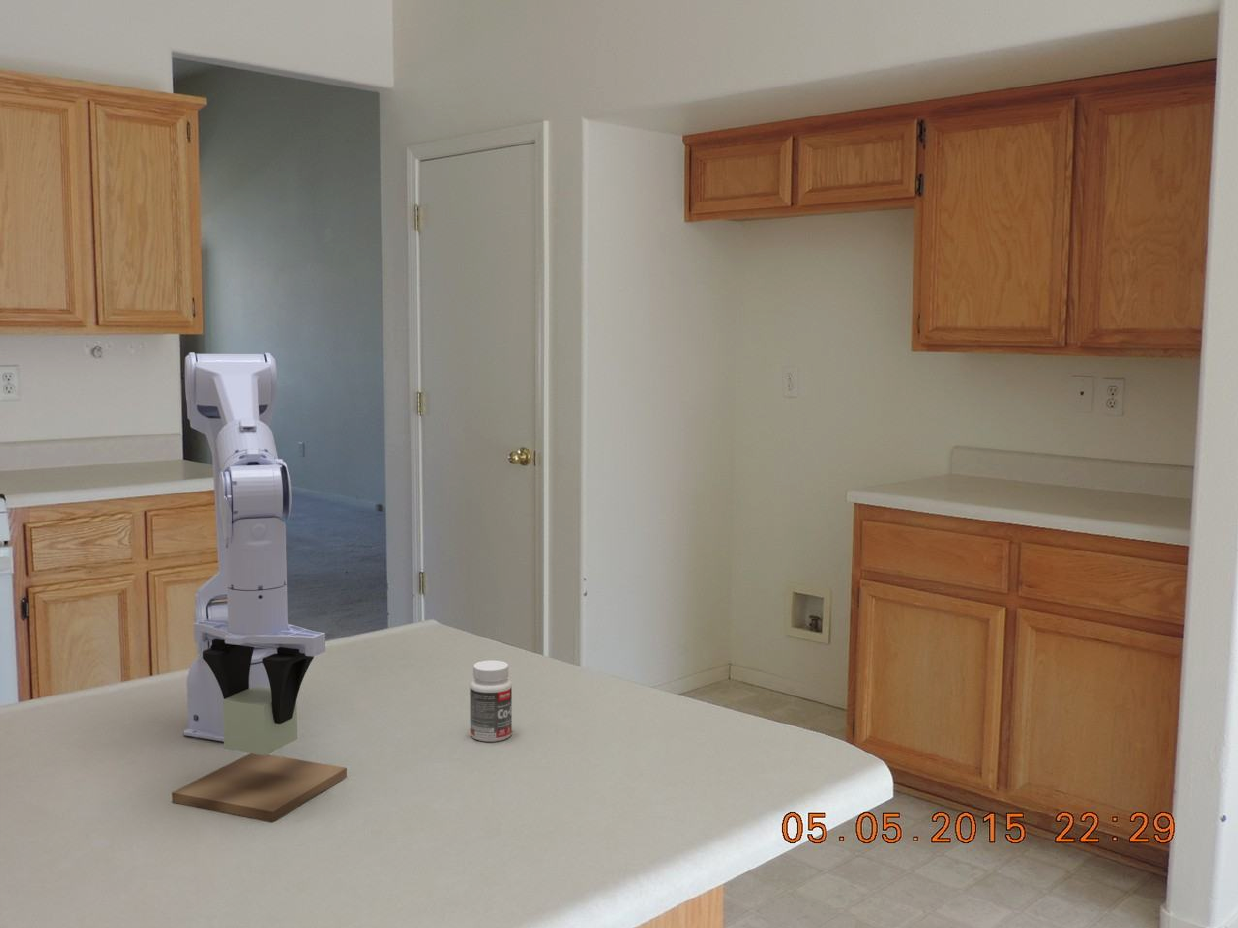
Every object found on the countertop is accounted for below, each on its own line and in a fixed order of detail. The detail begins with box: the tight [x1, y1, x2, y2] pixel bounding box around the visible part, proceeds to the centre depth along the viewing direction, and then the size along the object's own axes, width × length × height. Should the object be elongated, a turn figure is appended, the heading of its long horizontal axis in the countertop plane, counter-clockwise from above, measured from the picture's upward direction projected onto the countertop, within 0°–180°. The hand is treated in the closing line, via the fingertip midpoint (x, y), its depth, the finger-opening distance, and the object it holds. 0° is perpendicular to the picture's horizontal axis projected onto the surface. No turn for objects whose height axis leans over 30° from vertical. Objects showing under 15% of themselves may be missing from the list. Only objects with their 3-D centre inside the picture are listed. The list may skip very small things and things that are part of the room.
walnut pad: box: [171, 753, 348, 823], centre depth 115 cm, size 12×12×1 cm
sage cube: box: [223, 686, 298, 755], centre depth 114 cm, size 5×5×5 cm
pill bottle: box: [469, 660, 513, 743], centre depth 131 cm, size 5×5×8 cm
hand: (260, 717), depth 114 cm, fingers closed on sage cube, 5 cm apart
